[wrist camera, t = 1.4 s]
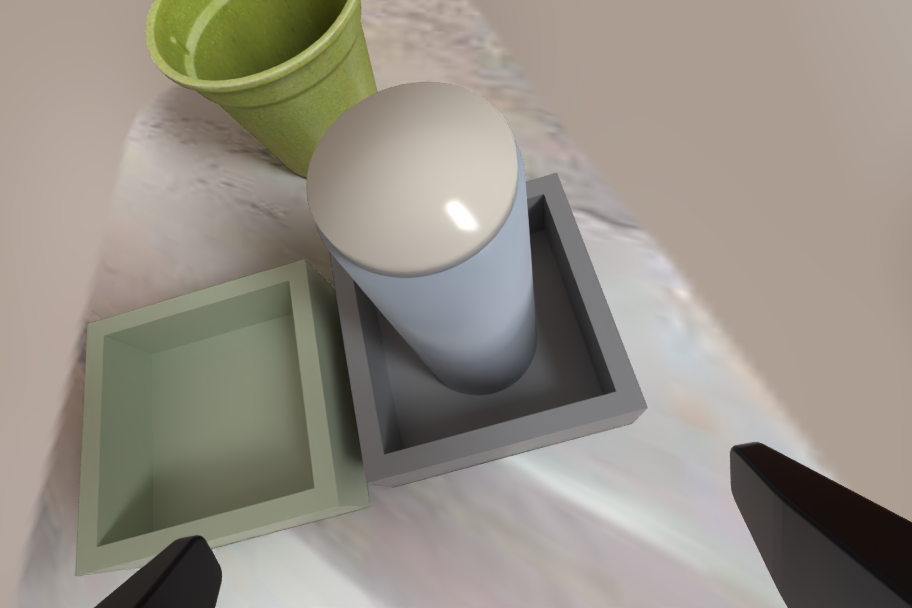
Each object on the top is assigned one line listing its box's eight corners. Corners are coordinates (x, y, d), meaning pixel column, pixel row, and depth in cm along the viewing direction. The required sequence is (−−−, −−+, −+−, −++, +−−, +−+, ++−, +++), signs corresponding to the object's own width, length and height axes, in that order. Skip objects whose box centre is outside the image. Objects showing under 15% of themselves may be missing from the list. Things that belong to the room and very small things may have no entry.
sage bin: (370, 506, 22) (338, 506, 18) (143, 566, 22) (75, 576, 19) (335, 290, 26) (304, 258, 22) (144, 346, 26) (87, 323, 23)
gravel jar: (551, 377, 22) (554, 229, 10) (436, 409, 22) (315, 300, 11) (518, 273, 24) (489, 51, 12) (413, 303, 24) (288, 115, 13)
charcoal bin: (632, 423, 21) (647, 407, 18) (393, 487, 22) (366, 483, 19) (555, 215, 25) (556, 172, 22) (355, 275, 26) (327, 241, 22)
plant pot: (230, 203, 29) (107, 84, 21) (279, 69, 32) (189, -79, 24) (392, 214, 27) (325, 88, 19) (428, 70, 30) (383, -91, 22)
